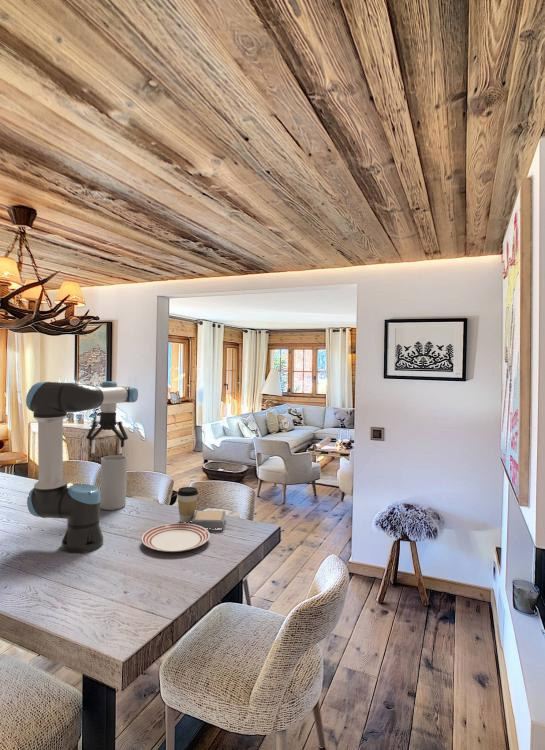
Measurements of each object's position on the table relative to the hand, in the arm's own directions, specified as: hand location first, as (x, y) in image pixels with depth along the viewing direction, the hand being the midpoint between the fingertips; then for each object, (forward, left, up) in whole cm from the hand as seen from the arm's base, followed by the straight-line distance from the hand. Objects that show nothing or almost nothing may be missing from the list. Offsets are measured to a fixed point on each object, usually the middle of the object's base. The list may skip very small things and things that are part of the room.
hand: (106, 453), depth 212 cm
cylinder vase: (+1, -4, -28) cm, 28 cm away
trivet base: (-21, -56, -28) cm, 66 cm away
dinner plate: (-42, -45, -28) cm, 67 cm away
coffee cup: (-17, -45, -28) cm, 55 cm away
